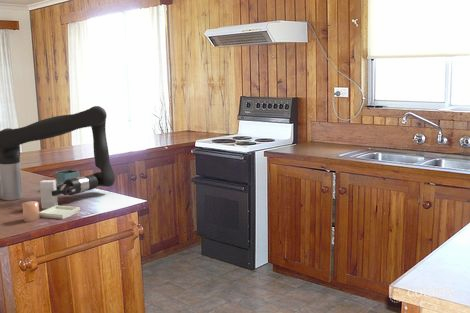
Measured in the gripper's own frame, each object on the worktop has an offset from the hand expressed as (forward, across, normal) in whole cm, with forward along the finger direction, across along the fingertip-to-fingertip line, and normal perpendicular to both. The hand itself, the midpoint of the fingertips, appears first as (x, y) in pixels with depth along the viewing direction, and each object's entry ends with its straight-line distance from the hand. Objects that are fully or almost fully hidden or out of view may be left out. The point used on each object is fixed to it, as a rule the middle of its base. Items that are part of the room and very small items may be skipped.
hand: (46, 192), depth 221 cm
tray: (+3, +13, +7) cm, 15 cm away
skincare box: (-1, 0, +7) cm, 7 cm away
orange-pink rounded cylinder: (+14, +10, +7) cm, 19 cm away
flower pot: (-28, -23, +7) cm, 37 cm away
